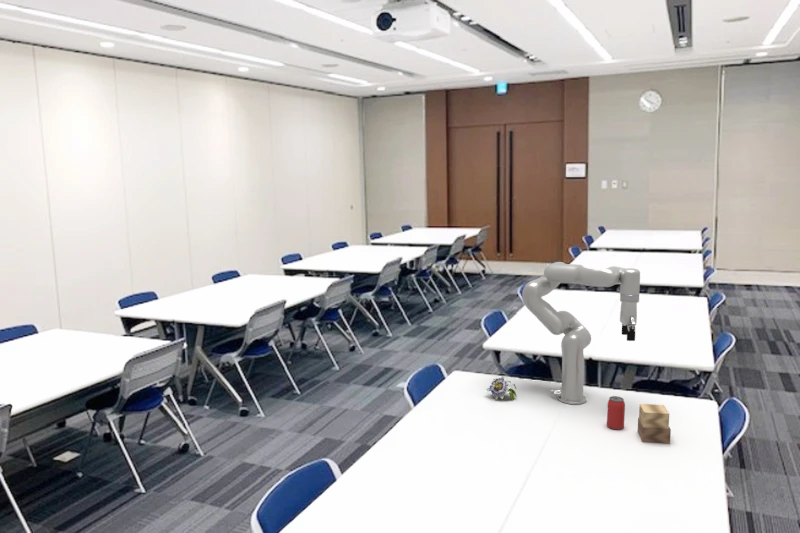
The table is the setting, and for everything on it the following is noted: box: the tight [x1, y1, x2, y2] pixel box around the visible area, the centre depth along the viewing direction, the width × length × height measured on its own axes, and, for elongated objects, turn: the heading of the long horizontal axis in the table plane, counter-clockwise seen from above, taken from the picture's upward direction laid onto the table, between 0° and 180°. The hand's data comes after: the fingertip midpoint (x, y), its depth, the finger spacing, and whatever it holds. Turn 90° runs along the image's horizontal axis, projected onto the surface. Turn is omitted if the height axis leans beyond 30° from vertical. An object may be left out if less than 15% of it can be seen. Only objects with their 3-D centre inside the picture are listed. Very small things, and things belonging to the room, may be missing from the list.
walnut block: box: [637, 417, 672, 445], centre depth 241 cm, size 10×10×6 cm
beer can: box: [606, 395, 626, 431], centre depth 251 cm, size 7×7×12 cm
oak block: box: [638, 403, 670, 429], centre depth 240 cm, size 9×9×6 cm
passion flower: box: [486, 375, 517, 401], centre depth 285 cm, size 11×11×12 cm
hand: (628, 337), depth 264 cm, fingers open, 9 cm apart
